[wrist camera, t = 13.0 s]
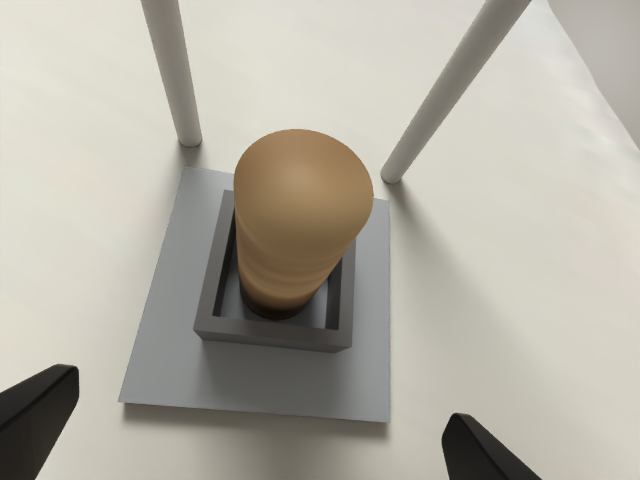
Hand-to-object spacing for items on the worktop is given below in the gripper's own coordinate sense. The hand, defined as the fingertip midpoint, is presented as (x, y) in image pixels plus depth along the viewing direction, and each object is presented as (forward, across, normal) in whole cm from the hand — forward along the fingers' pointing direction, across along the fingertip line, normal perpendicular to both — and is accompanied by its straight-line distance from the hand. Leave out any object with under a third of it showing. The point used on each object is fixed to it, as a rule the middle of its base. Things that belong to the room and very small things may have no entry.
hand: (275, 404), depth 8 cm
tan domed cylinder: (+12, 0, +3) cm, 13 cm away
